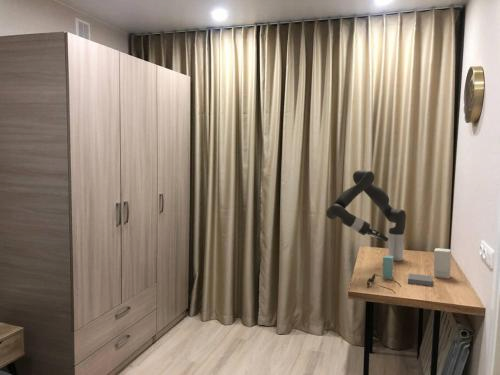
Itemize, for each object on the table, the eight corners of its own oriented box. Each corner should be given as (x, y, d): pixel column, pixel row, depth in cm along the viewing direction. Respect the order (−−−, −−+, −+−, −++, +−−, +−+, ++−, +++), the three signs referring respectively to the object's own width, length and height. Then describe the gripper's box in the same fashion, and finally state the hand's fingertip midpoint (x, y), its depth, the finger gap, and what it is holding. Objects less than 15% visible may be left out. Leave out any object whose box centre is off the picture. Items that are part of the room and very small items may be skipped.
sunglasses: (374, 282, 223) (375, 273, 222) (402, 289, 215) (403, 280, 214) (366, 289, 211) (367, 280, 210) (395, 297, 203) (396, 287, 202)
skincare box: (450, 276, 231) (451, 249, 229) (449, 279, 225) (450, 251, 224) (434, 273, 235) (435, 247, 234) (433, 277, 229) (434, 250, 228)
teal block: (383, 275, 232) (384, 255, 231) (392, 276, 230) (393, 256, 229) (382, 278, 228) (383, 257, 226) (391, 279, 226) (392, 258, 224)
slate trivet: (408, 277, 228) (409, 273, 228) (432, 280, 223) (432, 276, 223) (407, 283, 219) (408, 278, 219) (432, 286, 214) (432, 281, 214)
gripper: (366, 220, 223) (392, 234, 222) (358, 219, 237) (383, 233, 237) (360, 232, 222) (386, 246, 222) (352, 231, 236) (377, 244, 236)
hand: (384, 239), depth 229 cm, fingers open, 8 cm apart
